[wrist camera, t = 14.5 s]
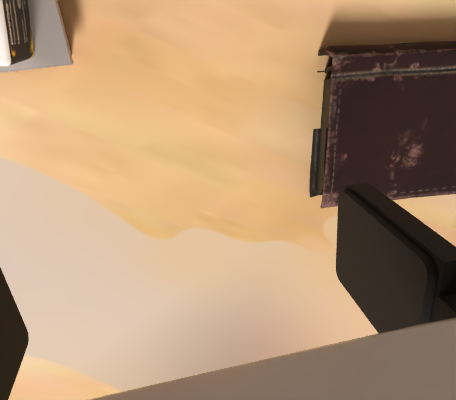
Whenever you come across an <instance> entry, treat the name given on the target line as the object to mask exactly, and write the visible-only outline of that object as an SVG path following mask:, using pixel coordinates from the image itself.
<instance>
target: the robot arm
mask: <svg viewBox="0 0 456 400" xmlns="http://www.w3.org/2000/svg"><path fill="white" fill-rule="evenodd" d="M337 227H338V228H337V253H336V272H337V276H338V279H339V280H340V282H341V283H342V285H343V286H344V287H345V289H346V290H347V291H348V292H349V294H350V295H351V297H352V298H353V299H354V301H355V302H356V304H357V305H358V306H359V307H360V309H361V310H362V312H363V313H364V314H365V316H366V317H367V318H368V320H369V321H370V322H371V324H372V325H373V326H374V328H375V329H376V330H377V332H378V333H379V334H375V335H370V336H366V337H362V338H357V339H352V340H348V341H343V342H339V343H335V344H330V345H325V346H321V347H317V348H312V349H308V350H303V351H299V352H295V353H290V354H286V355H281V356H277V357H273V358H268V359H264V360H259V361H255V362H251V363H246V364H242V365H238V366H233V367H229V368H225V369H220V370H216V371H211V372H207V373H203V374H198V375H194V376H189V377H186V378H181V379H176V380H172V381H168V382H163V383H159V384H155V385H150V386H146V387H142V388H137V389H132V390H128V391H124V392H119V393H115V394H110V395H106V396H102V397H97V398H93V399H88V400H456V247H455V246H454V245H452V244H451V243H449V242H448V241H447V240H446V239H444V238H443V237H441V236H440V235H438V234H437V233H436V232H434V231H433V230H432V229H431V228H429V227H428V226H427V225H425V224H424V223H422V222H421V221H420V220H418V219H417V218H416V217H414V216H413V215H412V214H410V213H409V212H407V211H406V210H405V209H403V208H402V207H401V206H399V205H398V204H397V203H395V202H394V201H392V200H391V199H390V198H388V197H387V196H386V195H384V194H383V193H382V192H380V191H379V190H377V189H376V188H375V187H373V186H372V185H371V184H369V183H368V182H362V183H356V184H350V185H346V186H345V188H344V191H340V193H339V197H338V225H337ZM27 345H28V332H27V329H26V326H25V324H24V322H23V319H22V317H21V315H20V312H19V310H18V308H17V305H16V303H15V301H14V298H13V296H12V294H11V291H10V289H9V287H8V284H7V282H6V280H5V277H4V275H3V273H2V270H1V268H0V400H8V398H9V396H10V393H11V390H12V387H13V384H14V382H15V379H16V376H17V373H18V370H19V368H20V365H21V362H22V359H23V357H24V354H25V351H26V348H27Z"/></svg>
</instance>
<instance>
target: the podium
mask: <svg viewBox="0 0 456 400" xmlns="http://www.w3.org/2000/svg"><path fill="white" fill-rule="evenodd" d="M28 8H29V16H30V25H31V33H32V41H33V50H34V56H33V57H32V58H30V59H27V60H24V61H21V62H19V63H16V64H13V65H10V66H0V73H4V72H12V71H21V70H29V69H38V68H47V67H55V66H64V65H72V64H73V60H72V54H71V50H70V46H69V43H68V39H67V35H66V31H65V27H64V23H63V19H62V15H61V11H60V7H59V3H58V0H28Z"/></svg>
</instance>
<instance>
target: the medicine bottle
mask: <svg viewBox="0 0 456 400" xmlns="http://www.w3.org/2000/svg"><path fill="white" fill-rule="evenodd" d="M33 56H34V50H33V41H32V33H31V25H30V16H29V8H28V0H0V66H10V65H13V64H16V63H19V62H21V61H24V60H27V59H30V58H32V57H33Z"/></svg>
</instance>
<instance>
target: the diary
mask: <svg viewBox="0 0 456 400" xmlns="http://www.w3.org/2000/svg"><path fill="white" fill-rule="evenodd" d="M322 55H329V56H330V57H331V58H333V60H332V66H329V67H327V68H326V69H325V71H317V72H325V73H331V79H327V80H324V90H323V103H322V117H321V128H320V129H314V130H313V143H312V156H311V167H310V197H314V196H317V195H322V203H321V208H326V207H335V206H338V197H339V193H340V191H344V188H345V186H346V185H350V184H356V183H362V182H368V183H369V184H371V185H372V186H373V187H375V188H376V189H377V190H379V191H380V192H382V193H383V194H384V195H386V196H387V197H388V198H390V199H391V200H397V199H405V198H414V197H426V196H437V195H449V194H456V41H444V42H418V43H403V44H389V45H365V46H330V47H327V48H325V49H322V50H320V51H319V52H318V56H322Z"/></svg>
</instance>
